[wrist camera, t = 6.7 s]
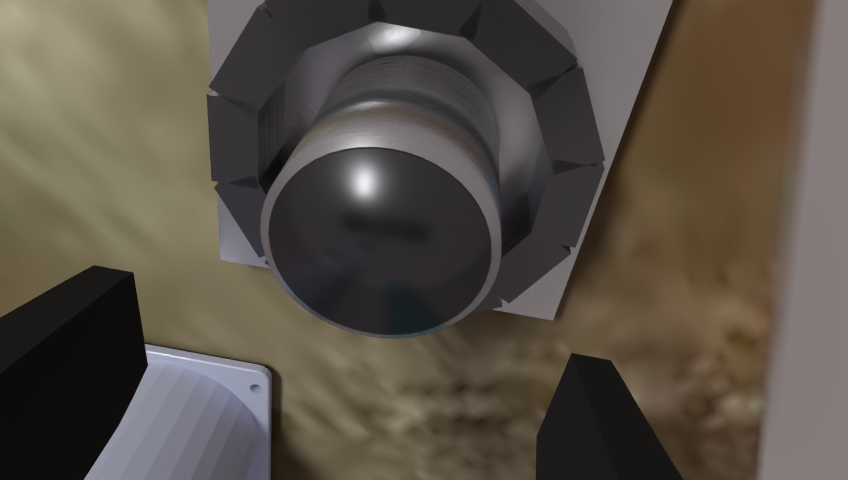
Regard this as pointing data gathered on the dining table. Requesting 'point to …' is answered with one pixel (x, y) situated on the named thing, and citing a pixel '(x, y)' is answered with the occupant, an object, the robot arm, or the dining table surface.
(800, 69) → the dining table surface
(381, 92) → the dark grey round knob
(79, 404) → the robot arm
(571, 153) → the barrel stand
